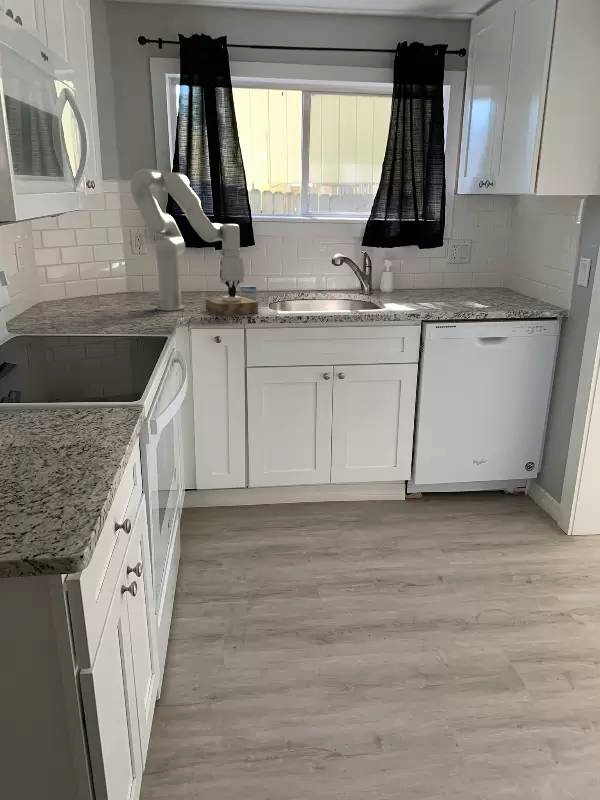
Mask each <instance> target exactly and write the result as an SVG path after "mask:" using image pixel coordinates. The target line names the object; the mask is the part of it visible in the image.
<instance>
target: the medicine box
mask: <svg viewBox="0 0 600 800" xmlns="http://www.w3.org/2000/svg"><path fill="white" fill-rule="evenodd" d="M238 296H239V297H245V298H248V299H251V300H254V301H257V286H256V285H238Z"/></svg>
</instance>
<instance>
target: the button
mask: <svg viewBox="0 0 600 800" xmlns="http://www.w3.org/2000/svg"><path fill="white" fill-rule="evenodd" d="M221 298H222V300H225V301H227V302H234V301H241V297H239V295H237V294H235V297H234V296H233V297H231V296H229V295H222V296H221Z"/></svg>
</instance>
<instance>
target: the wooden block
mask: <svg viewBox="0 0 600 800" xmlns="http://www.w3.org/2000/svg"><path fill="white" fill-rule="evenodd" d="M205 310H206V311H207V310H208V311H207V312H209V311H210V312H209V313H211V312H212V314H214V315H216V316H218V317H231V316H241V315H242V314H243V315H250V314H249V313H255V314H258V313H259V301H257V300H256V301H254V300H251V299H248V298H245V297H241V301H234V302H227V301H225V300H222V297H219V298H218V297H216V298H205Z"/></svg>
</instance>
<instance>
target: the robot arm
mask: <svg viewBox="0 0 600 800" xmlns="http://www.w3.org/2000/svg"><path fill="white" fill-rule="evenodd" d="M190 185H191V184H190V180H189V178H188V177H187V175H185V174H184V173H183V172H182V173H181V172H171V171H166V170H160V169H159V170H158V169H151V168H141V169H139V170H137V171H136V172H135V173H134V175H133V176H132V178H131V181H130V193H131V195H132V198H133V201H134V203H135V204H136V207H137V208H138V211H139V213H140V215H141V217H142V219H143V222H144V224H145V226H146V228H147V230H148V231H149V233H150V234H151V235H154V236H159V237H160V238H159V239H158V240H157V241H156V244H155V247H154V251H155V257H156V262H157V264H156V265H157V275H158V295H159V298H157V299H156V300H149V301H148V305H149V306H156V309H157V310H159V311H166V312H167V311H169V312H173V311H182V310H184V309H186V305H184V304H182V293H181V292H182V290H181V289H182V288H181V268H180V267H181V266H180V261H179V257H180V256H182V255H183V254H184V253H185V250H186V242H185V241H184V238H183V236H182V233H181V231H180V229H179V227H178V225H177V223H176V220H175V219H174V217H173V216H171V214H169V213H168V212H163V210H161V208H160V206H159V202H158V201H157V199H156V198H155V196H154V195H153V193H152V191H159V192H165V193H166V192H167V193H168V194H169V195H170V196H171V197H172V199H173V200H174V201H175V202H176V203H177V205H178V206H179V207H180V209H182V211H183V213H184V215H185V217H186V218H187V221H188V223H189V224H190V225H191V227H192V229H193V230H194V231H195V232H196V233H197V234H198V236H199V237H200V238H201V239H202V240H204V241H205V242H206V243H207V242H208V243H213V242H219V241H221V243H222V244H221V247H222V248H221V251H219V256H220V255H221V257H220V264H219V279H220V280H219V281H220V283H221V284H224V285H226V286H227V290H228V293H227V294H228V296H231V297H233V296H234V297H235V295H237V287H238V286H239V284H241V283H244V279H245V267H244V261H243V257H242V256H241V250H240V249H241V245H240V243H241V240H240V239H241V238H240V236H241V235H240V226H239V224H236V223H218V222H214V223H213V222H211V221H210V219H209V218H208V217H207V216H206V214H205V213H204V210H203V209H202V205H201V204H202V203H201V200H200V198H199V197H198V195H197V194H196V193H195V192H194V190H193V189H192V187H190Z"/></svg>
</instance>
